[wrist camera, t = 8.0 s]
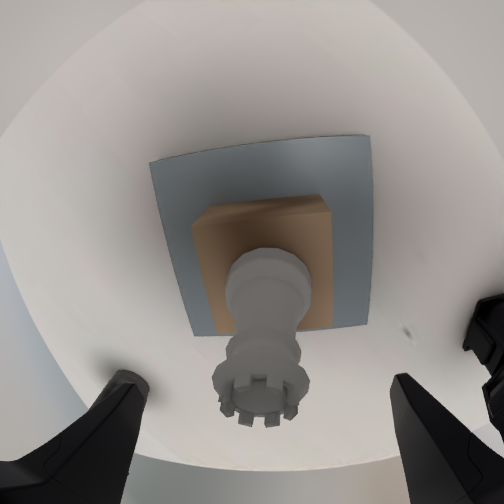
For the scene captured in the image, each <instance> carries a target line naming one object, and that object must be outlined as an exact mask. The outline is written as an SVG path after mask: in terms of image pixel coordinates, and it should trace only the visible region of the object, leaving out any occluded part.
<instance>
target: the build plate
mask: <svg viewBox="0 0 504 504" xmlns="http://www.w3.org/2000/svg"><path fill="white" fill-rule="evenodd" d="M149 165H150V170H151V175H152V180H153V185H154V190H155V195H156V199H157V204H158V208H159V212H160V217H161V221H162V225H163V229H164V233H165V237H166V241H167V245H168V249H169V253H170V257H171V260H172V264H173V268H174V271H175V275H176V278H177V282H178V285H179V289H180V292H181V296H182V299H183V302H184V306H185V309H186V312H187V315H188V318H189V322H190V325H191V328H192V331H193V334H194V336H234V335H235V334H217V332H216V329H215V325H214V321H213V317H212V314H211V310H210V306H209V302H208V298H207V294H206V290H205V286H204V282H203V278H202V274H201V270H200V266H199V261H198V257H197V253H196V248H195V244H194V240H193V235H192V230H191V225H192V224H193V223H194V222H195V221H196V220H197V219H198V217H199V216H200V215H201V214H202V213H203V212H204V211H205V210H206V209H207V207H208V206H213V205H221V204H229V203H237V202H245V201H254V200H263V199H272V198H282V197H293V196H303V195H315V194H320V195H321V197H322V198H323V200H324V202H325V203H326V205H327V206H328V208H329V209H330V211H331V223H332V251H333V321H332V327H327V328H317V329H306V330H296V332H303V331H314V330H324V329H334V328H342V327H351V326H359V325H366V324H367V321H368V312H369V302H370V290H371V276H372V257H373V178H372V159H371V145H370V135H346V136H325V137H310V138H298V139H287V140H277V141H268V142H260V143H252V144H245V145H238V146H231V147H225V148H219V149H213V150H207V151H201V152H196V153H191V154H186V155H181V156H176V157H171V158H167V159H162V160H158V161H154V162H151V163H149Z"/></svg>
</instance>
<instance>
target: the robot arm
mask: <svg viewBox="0 0 504 504" xmlns="http://www.w3.org/2000/svg"><path fill="white" fill-rule="evenodd" d="M463 349H464V351H468V350H471V349H472V350H473V351H474V353H475V355H476V356H477V358H478V359H479V361H480V363H481V364H482V365H485V366H486V368H487V370H488V371H489V373H490V375H491V376H492V377H491V378H490V379H489V380H488V382H487V383H485V384H484V385H483V386H482V390H483V395H484V398H485V402H486V406H487V410H488V414H489V419H490V422H491V423H492V424H493V426H494V427H495V428H496V429H497V430H499V432H500V434H501V437H502V439H503V442H504V294H502V295H499V296H495V297H491V298H487V299H483V300H480V301H479V302H478V304H477V307H476V310H475V313H474V317H473V320H472V323H471V326H470V329H469V331H468V334H467V337H466V340H465V342H464V345H463ZM390 399H391V405H392V412H393V419H394V427H395V433H396V438H397V442H398V446H399V450H400V454H401V458H402V463H403V467H404V472H405V477H406V482H407V486H408V492H409V498H410V503H411V504H504V458H503V457H502V456H500V455H499V454H497V453H496V452H495V451H493V450H492V449H490V448H489V447H488V446H487V445H486V444H484V443H483V442H482V441H481V440H480V439H479V438H478V437H477V436H476V435H474V434H473V433H472V432H471V431H470V430H469V429H468V428H467V427H466V426H465V425H464V424H462V423H461V422H460V421H459V420H458V419H457V418H456V417H455V416H454V415H453V414H452V413H451V412H449V411H448V410H447V409H446V408H445V407H444V406H443V405H442V404H441V403H440V402H439V401H437V400H436V399H435V398H434V397H433V396H432V395H431V394H430V393H429V392H428V391H427V390H425V389H424V388H423V387H422V386H421V385H420V384H419V383H418V382H417V381H416V380H414V379H413V378H412V377H411V376H410V375H409V374H408V373H400V374H396V375H395V376H394V379H393V382H392V385H391V388H390ZM144 403H145V398H144V395H143V394H142V392H141V391H140V389H139V387H138V386H137V384H135V383H131V382H125V383H123V384H122V385H121V386H120V387H118V388H117V389H116V390H115V391H113V392H112V393H111V394H110V395H108V396H107V397H106V398H104V399H103V400H102V401H101V402H99V403H98V404H97V405H96V406H94V407H93V408H92V409H90V410H89V411H88V412H87V413H85V414H84V415H83V416H82V417H80V418H79V419H77V420H76V421H75V422H74V423H72V424H71V425H70V426H68V427H67V428H66V429H65V430H63V431H62V432H60V433H59V434H58V435H56V436H55V437H54V438H52V439H51V440H50V441H48V442H47V443H45V444H44V445H42V446H40V447H39V448H37V449H35V450H34V451H32V452H31V453H29V454H27V455H25V456H23V457H22V458H20V459H18V460H15V461H0V504H120V503H121V499H122V495H123V491H124V487H125V483H126V479H127V475H128V471H129V467H130V464H131V460H132V457H133V453H134V450H135V446H136V443H137V439H138V435H139V431H140V425H141V419H142V414H143V408H144Z"/></svg>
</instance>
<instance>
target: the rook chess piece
mask: <svg viewBox="0 0 504 504" xmlns="http://www.w3.org/2000/svg"><path fill="white" fill-rule="evenodd" d="M226 280H227V283H226V286H225V296H226V304H227V307H228V309H229V311H230V312H231V315H232V317H233V318H234V320H235V335H234V337H232V338H231V339H230V341H229V343H228V345H227V347H226V355H227V360H225V361H224V362H222V363H221V364H219V365H218V366H217V367H216V369H215V371H214V374H213V376H212V380H213V385H214V389H215V390H216V392H217V393H218V394H219V400H218V402H221V407H220V411H221V412H222V413H223V414H224V415H225V416H226V417H231V416H234V411H236V412H238V413H240V414H239V420H238V424H242V425H246V426H249V427H252V425H253V419H254V417H265V422H264V424H265V426H266V428H267V427H274V426H280V415H281V414H283V413H284V418H285V419H288V420H290V421H291V420H292V419H293V418H294V417H295V416H296V415H297V414H298V405H299V402H300V400H301V399H302V398H303V397H304V396H305V395H306V394H307V393H308V389H309V383H310V380H309V378H308V376H307V374H306V372H305V370H304V369H303V368H302V367H301V366H299V365H298V363H299V362H300V358H301V349H300V347H299V345H298V343H297V341H296V340H295V335H296V328H297V326H298V324H299V322H300V321H301V320H302V319H303V317H304V316H305V314H306V312H307V311H308V309H309V307H310V304H311V294H312V288H311V282H312V280H311V277H310V274H309V272H308V269H307V267H306V265H305V264H304V263H303V262H302V261H301V260H299V259H298V258H297V257H296V256H295V255H294V254H292V253H289V252H287V251H284V250H282V249H279V248H258V249H255V250H253V251H250V252H247V253H245V254H243V255H242V256H241V257H240V258H239V259H238V260H237V261H235V262H234V263H233V264H232V266H231V268H230V271H229V273H228V276H227V278H226Z"/></svg>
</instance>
